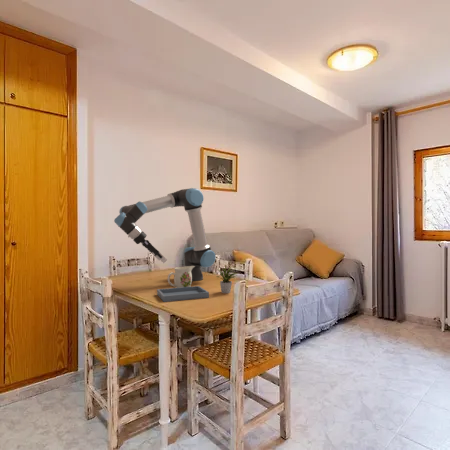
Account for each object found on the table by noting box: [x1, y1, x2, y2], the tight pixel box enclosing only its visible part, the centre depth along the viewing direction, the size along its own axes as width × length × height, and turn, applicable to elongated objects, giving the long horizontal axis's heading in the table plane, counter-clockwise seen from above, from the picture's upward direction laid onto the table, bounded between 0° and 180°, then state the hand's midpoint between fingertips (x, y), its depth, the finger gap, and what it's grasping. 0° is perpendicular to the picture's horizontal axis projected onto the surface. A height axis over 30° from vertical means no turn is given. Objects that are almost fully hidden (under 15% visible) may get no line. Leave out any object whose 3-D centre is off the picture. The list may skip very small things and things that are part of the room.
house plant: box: [214, 266, 238, 294], centre depth 191 cm, size 14×14×16 cm
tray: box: [156, 285, 210, 303], centre depth 182 cm, size 25×18×3 cm
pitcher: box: [167, 266, 195, 288], centre depth 200 cm, size 11×18×14 cm, turn 122°
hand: (163, 260), depth 195 cm, fingers open, 13 cm apart
